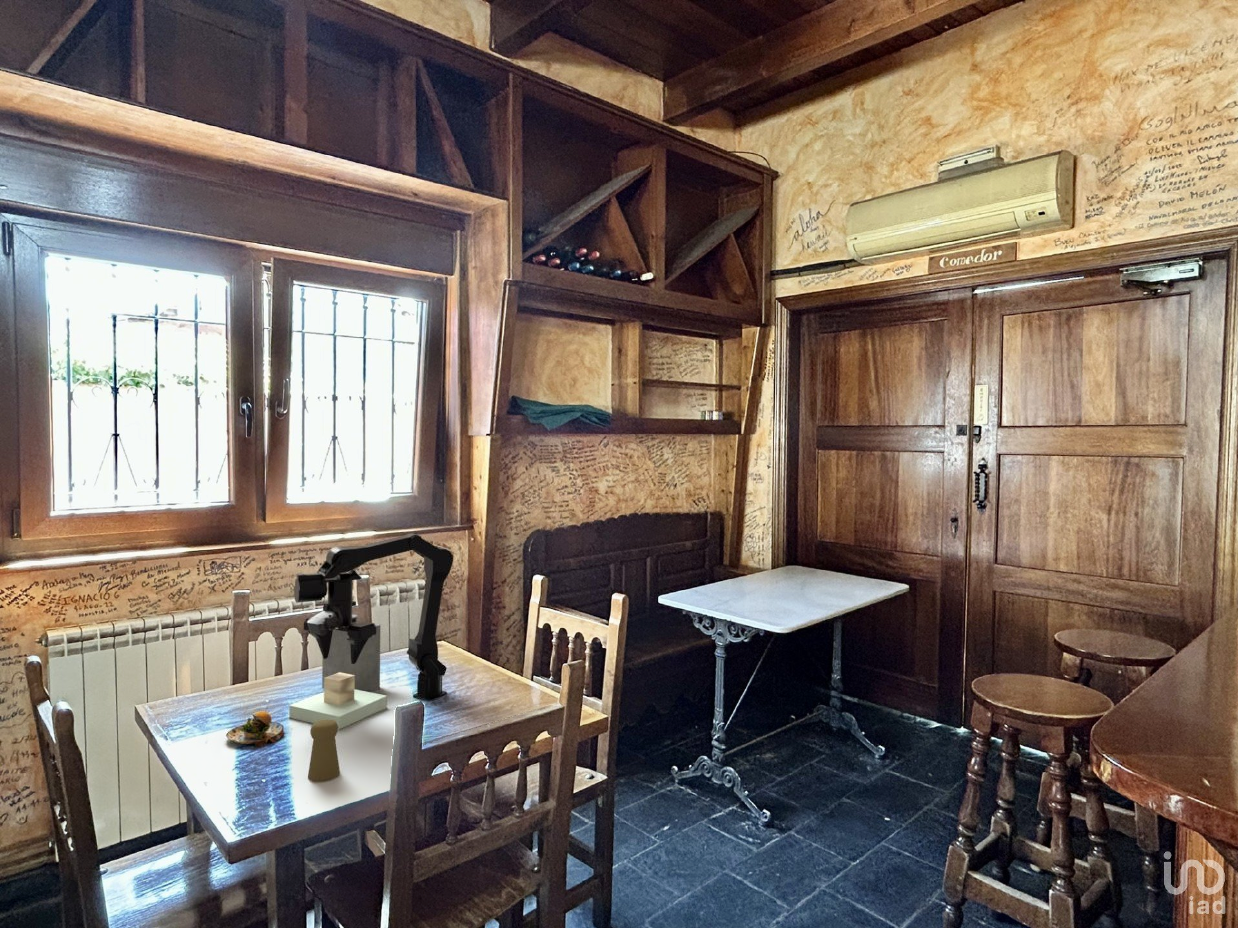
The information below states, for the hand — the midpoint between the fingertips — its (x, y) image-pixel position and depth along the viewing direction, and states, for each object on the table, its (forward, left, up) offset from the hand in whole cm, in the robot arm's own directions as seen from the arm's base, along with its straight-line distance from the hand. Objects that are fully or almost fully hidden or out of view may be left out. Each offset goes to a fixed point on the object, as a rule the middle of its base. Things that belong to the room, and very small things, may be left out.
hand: (339, 661), depth 183 cm
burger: (+20, -5, -13) cm, 24 cm away
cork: (+27, +23, -13) cm, 38 cm away
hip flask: (-15, -11, -13) cm, 23 cm away
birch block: (0, 0, -10) cm, 10 cm away
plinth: (0, 0, -13) cm, 13 cm away
